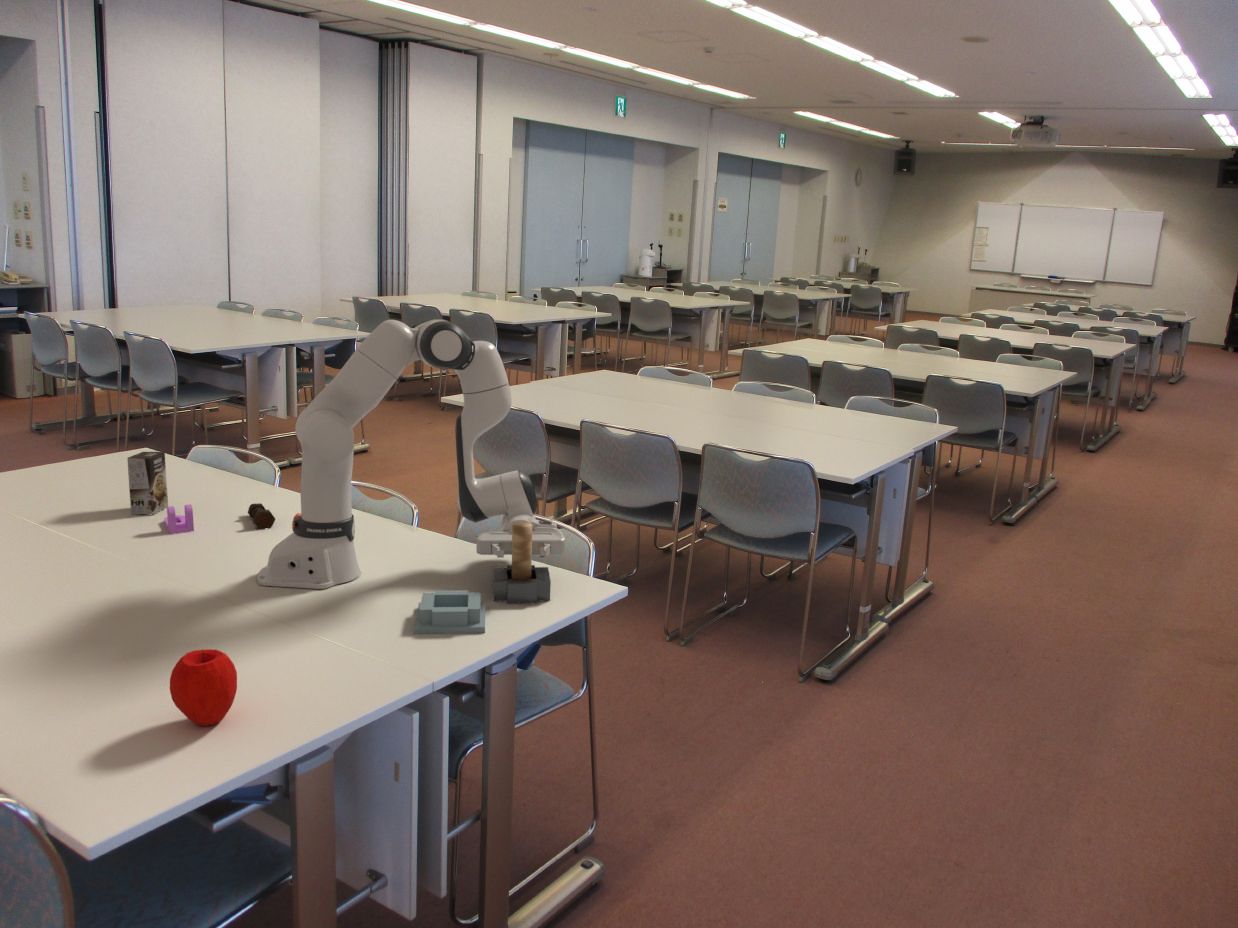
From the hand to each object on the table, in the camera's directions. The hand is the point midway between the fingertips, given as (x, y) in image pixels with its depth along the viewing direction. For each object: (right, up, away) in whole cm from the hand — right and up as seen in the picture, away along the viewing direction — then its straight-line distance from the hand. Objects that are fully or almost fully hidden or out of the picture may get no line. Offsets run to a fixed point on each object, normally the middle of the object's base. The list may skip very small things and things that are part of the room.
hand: (521, 554), depth 209 cm
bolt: (-77, +4, +49) cm, 91 cm away
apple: (-45, -21, -58) cm, 76 cm away
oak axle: (0, -9, +3) cm, 10 cm away
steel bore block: (0, -9, +3) cm, 10 cm away
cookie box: (-110, +7, +55) cm, 123 cm away
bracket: (-96, +3, +42) cm, 104 cm away
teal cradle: (-13, -12, -14) cm, 23 cm away
